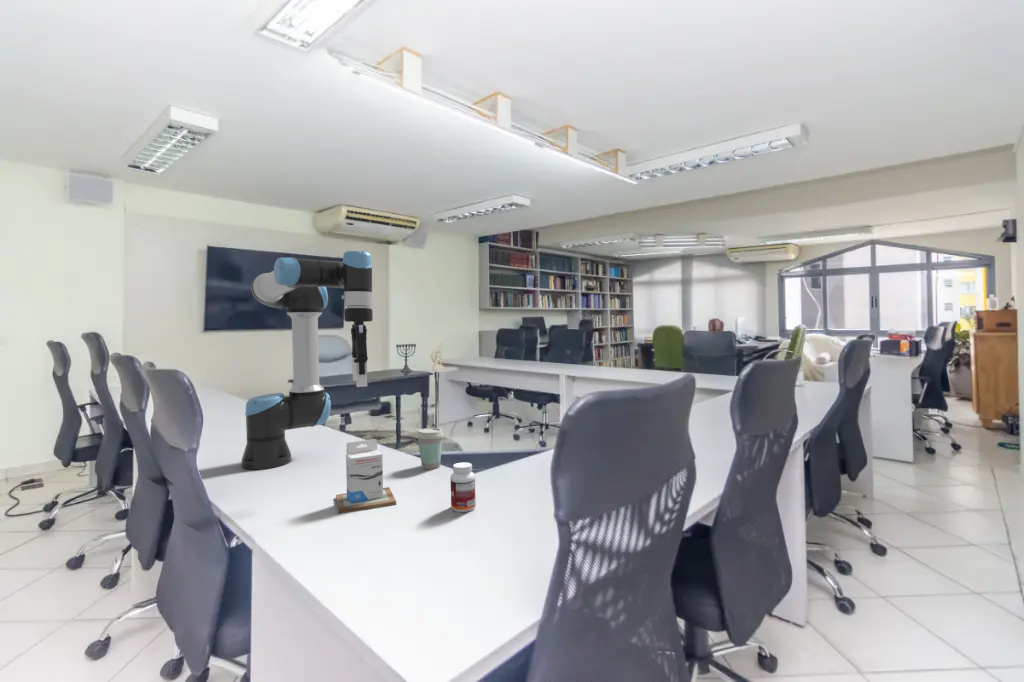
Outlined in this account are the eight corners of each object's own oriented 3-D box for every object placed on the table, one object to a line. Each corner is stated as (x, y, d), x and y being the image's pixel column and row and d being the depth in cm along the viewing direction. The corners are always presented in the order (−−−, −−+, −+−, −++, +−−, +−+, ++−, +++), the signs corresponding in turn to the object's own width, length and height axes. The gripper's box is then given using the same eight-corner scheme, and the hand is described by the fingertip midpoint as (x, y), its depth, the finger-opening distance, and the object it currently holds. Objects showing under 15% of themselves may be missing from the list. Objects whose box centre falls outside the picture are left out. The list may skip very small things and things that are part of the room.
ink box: (350, 504, 122) (349, 446, 121) (346, 498, 126) (344, 442, 126) (384, 497, 126) (382, 442, 126) (378, 491, 130) (377, 438, 130)
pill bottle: (452, 503, 123) (451, 461, 123) (476, 503, 123) (475, 461, 123) (449, 513, 117) (448, 468, 117) (474, 512, 117) (473, 468, 117)
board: (336, 497, 129) (336, 494, 129) (389, 489, 134) (389, 486, 134) (338, 513, 118) (338, 509, 118) (396, 504, 123) (396, 500, 123)
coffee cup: (441, 470, 152) (441, 432, 152) (415, 470, 152) (414, 433, 152) (446, 462, 161) (445, 427, 160) (420, 463, 161) (419, 427, 160)
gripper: (341, 308, 143) (343, 378, 144) (346, 306, 120) (348, 390, 121) (367, 308, 146) (368, 377, 147) (377, 306, 123) (378, 388, 124)
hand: (359, 383), depth 134 cm, fingers open, 13 cm apart
